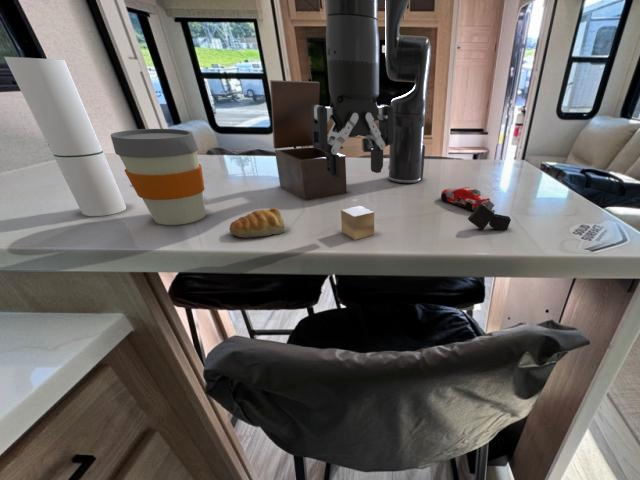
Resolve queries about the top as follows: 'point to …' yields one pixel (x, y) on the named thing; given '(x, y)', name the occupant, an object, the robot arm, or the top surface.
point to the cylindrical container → (68, 133)
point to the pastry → (259, 224)
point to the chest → (309, 173)
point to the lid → (293, 112)
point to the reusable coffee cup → (164, 172)
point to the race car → (464, 197)
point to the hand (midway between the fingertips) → (356, 174)
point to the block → (357, 222)
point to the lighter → (488, 217)
